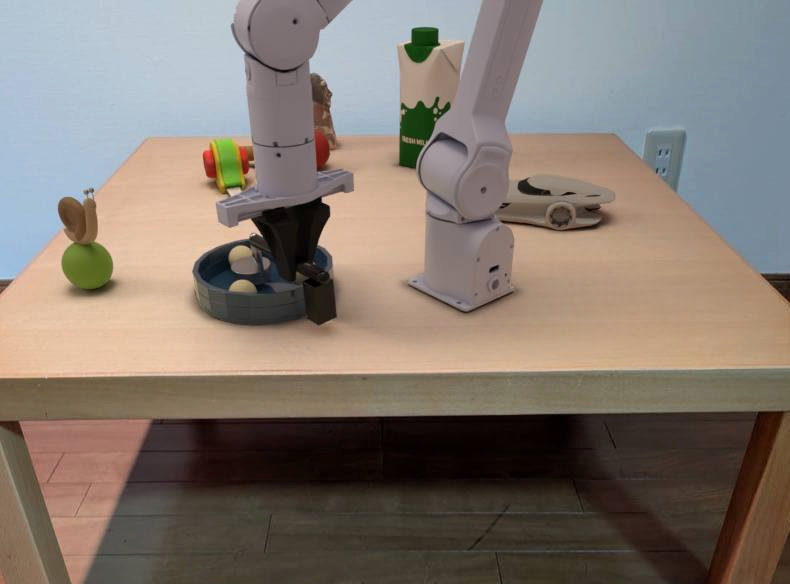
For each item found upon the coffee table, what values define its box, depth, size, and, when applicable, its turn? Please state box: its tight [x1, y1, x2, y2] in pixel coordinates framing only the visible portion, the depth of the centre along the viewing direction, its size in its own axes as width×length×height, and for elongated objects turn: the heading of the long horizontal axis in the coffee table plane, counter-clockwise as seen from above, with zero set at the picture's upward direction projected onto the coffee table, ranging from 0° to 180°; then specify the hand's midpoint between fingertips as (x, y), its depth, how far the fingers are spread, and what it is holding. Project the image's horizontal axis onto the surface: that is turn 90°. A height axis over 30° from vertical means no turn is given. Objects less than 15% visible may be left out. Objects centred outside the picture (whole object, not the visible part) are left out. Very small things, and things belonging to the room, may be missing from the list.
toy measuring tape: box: [202, 137, 250, 197], centre depth 108 cm, size 6×20×7 cm, turn 20°
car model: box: [495, 173, 617, 231], centre depth 100 cm, size 11×24×5 cm, turn 78°
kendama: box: [238, 130, 331, 169], centre depth 117 cm, size 8×6×18 cm
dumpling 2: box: [229, 280, 257, 293], centre depth 77 cm, size 3×3×3 cm
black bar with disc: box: [231, 232, 338, 327], centre depth 77 cm, size 17×4×6 cm, turn 41°
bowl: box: [191, 238, 335, 326], centre depth 81 cm, size 15×15×4 cm
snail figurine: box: [57, 187, 114, 290], centre depth 80 cm, size 5×6×12 cm
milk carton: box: [396, 26, 466, 169], centre depth 114 cm, size 9×9×20 cm
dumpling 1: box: [229, 246, 252, 265], centre depth 85 cm, size 3×3×3 cm
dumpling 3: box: [295, 262, 315, 285], centre depth 82 cm, size 3×3×3 cm
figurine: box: [310, 72, 338, 151], centre depth 125 cm, size 7×7×12 cm
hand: (295, 275), depth 74 cm, fingers closed on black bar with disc
